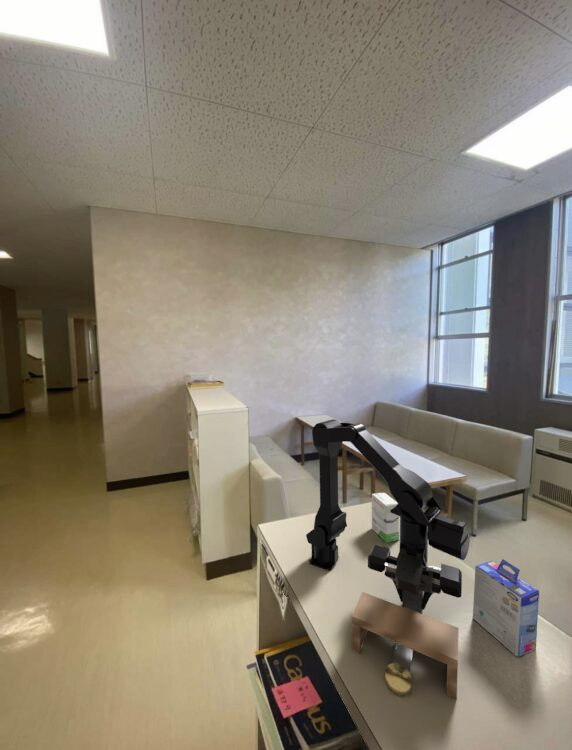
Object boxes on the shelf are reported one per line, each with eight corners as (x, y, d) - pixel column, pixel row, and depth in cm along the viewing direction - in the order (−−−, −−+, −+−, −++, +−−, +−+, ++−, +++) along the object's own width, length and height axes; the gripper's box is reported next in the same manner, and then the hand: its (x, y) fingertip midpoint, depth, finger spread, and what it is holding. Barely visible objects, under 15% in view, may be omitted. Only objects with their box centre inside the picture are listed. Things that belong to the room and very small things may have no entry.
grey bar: (389, 666, 58) (389, 631, 57) (405, 599, 73) (405, 570, 73) (412, 677, 56) (413, 641, 55) (423, 605, 71) (424, 576, 71)
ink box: (399, 540, 96) (400, 503, 95) (385, 543, 94) (385, 505, 94) (384, 525, 104) (384, 491, 103) (370, 528, 103) (371, 493, 102)
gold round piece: (382, 689, 54) (382, 681, 54) (387, 666, 58) (387, 659, 58) (410, 702, 52) (410, 694, 52) (413, 677, 56) (413, 670, 56)
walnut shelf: (352, 649, 61) (352, 616, 61) (362, 622, 67) (362, 591, 67) (456, 699, 52) (457, 660, 52) (457, 662, 58) (458, 627, 58)
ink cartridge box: (538, 650, 60) (542, 579, 59) (519, 660, 59) (522, 587, 57) (489, 610, 70) (491, 548, 69) (471, 618, 68) (473, 554, 67)
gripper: (360, 545, 66) (360, 614, 67) (462, 575, 57) (460, 654, 58) (374, 519, 75) (373, 580, 77) (462, 542, 66) (460, 610, 68)
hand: (412, 604), depth 69 cm, fingers closed on grey bar, 4 cm apart
